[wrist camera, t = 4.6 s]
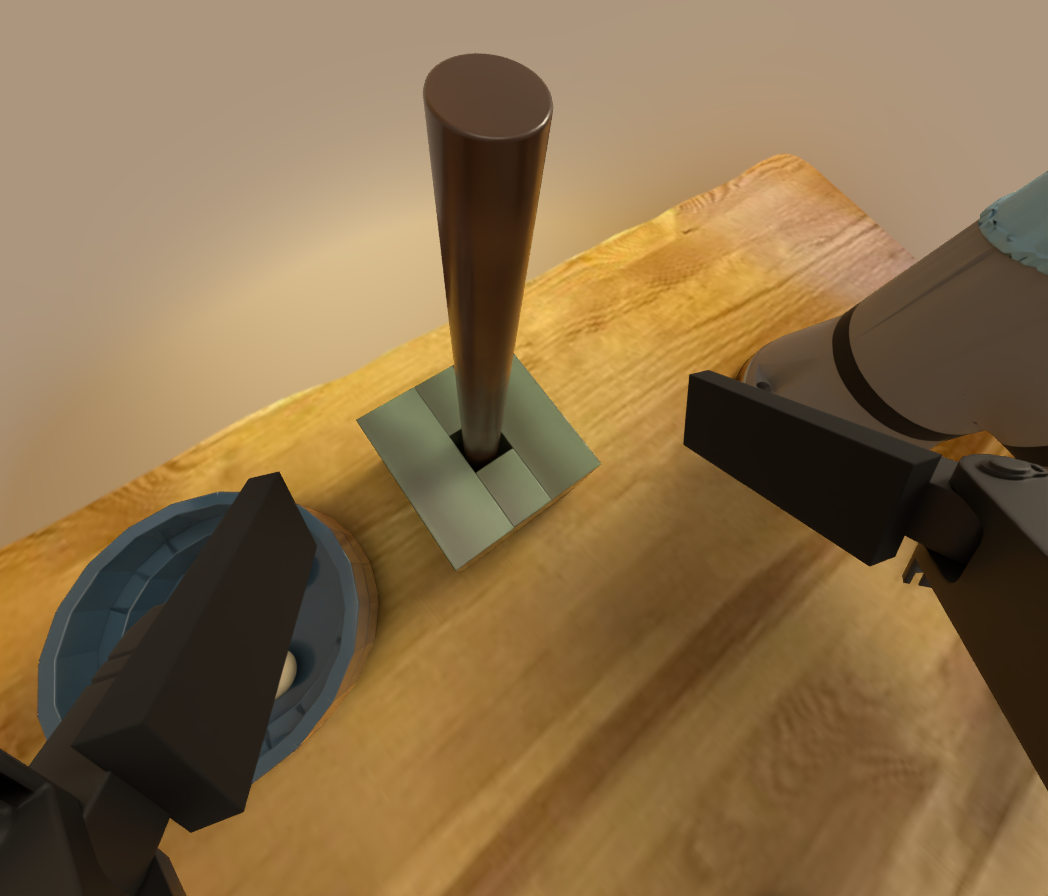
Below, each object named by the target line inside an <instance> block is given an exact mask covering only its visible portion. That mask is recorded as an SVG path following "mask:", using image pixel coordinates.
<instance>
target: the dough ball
mask: <svg viewBox="0 0 1048 896" xmlns="http://www.w3.org/2000/svg"><path fill="white" fill-rule="evenodd" d="M296 672H297V663H296V660H295V657H294V656H293V654H292V653H291V652H290V651H288V654H287V657H286V661H285V665H284V668H283V672H282V675H281V679H280V683H279V686H278V690H277V694H276V697H275V700H276V699H278V698H279V697H281V696H282V695H283V694H284V693H285V692H286V691H287V690H288V689H289V688H290V686H291V685H292V683H293V681H294V679H295V676H296Z"/></svg>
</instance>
